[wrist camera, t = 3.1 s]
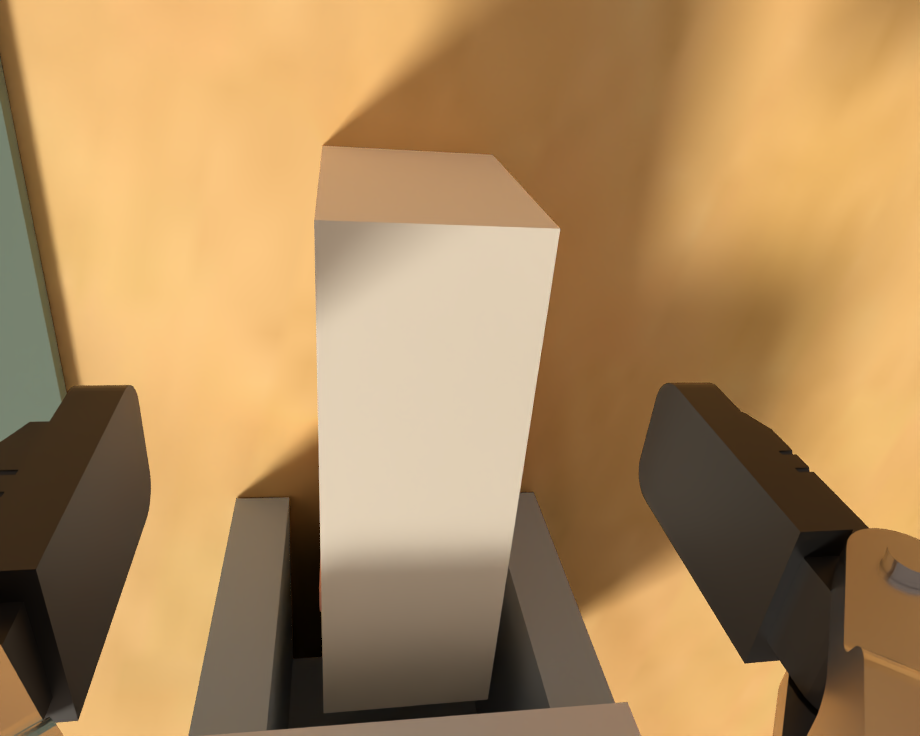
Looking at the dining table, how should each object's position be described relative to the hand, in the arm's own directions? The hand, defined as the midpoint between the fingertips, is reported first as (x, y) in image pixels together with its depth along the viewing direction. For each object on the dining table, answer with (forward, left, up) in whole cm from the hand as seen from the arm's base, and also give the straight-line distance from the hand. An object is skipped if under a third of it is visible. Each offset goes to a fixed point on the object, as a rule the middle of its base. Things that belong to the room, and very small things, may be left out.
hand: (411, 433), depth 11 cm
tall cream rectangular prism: (-1, +3, -8) cm, 8 cm away
